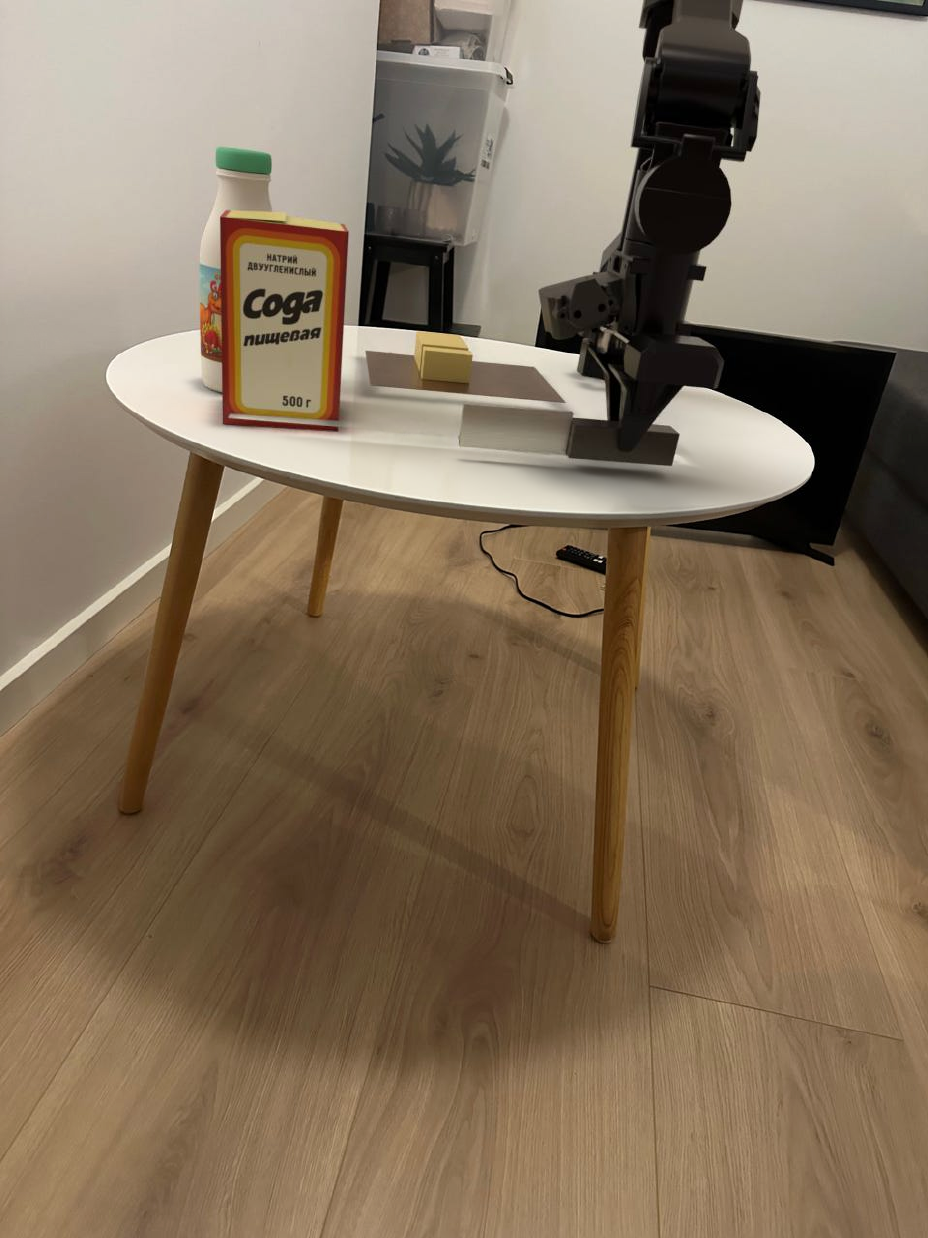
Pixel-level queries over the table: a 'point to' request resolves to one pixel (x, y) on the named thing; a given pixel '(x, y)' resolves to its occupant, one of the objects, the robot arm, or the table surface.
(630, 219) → the robot arm
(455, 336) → the butter
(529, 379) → the board
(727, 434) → the table surface
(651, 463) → the knife
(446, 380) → the butter slice
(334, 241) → the baking soda box
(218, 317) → the milk bottle
